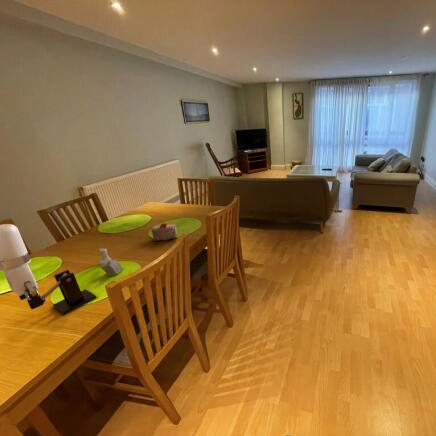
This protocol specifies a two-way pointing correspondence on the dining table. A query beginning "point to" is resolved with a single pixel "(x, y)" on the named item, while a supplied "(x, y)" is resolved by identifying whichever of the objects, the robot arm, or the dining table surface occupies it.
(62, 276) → the switch lever
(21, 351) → the dining table surface
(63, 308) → the stand
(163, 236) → the food item
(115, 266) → the mineral specimen
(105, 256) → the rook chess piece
